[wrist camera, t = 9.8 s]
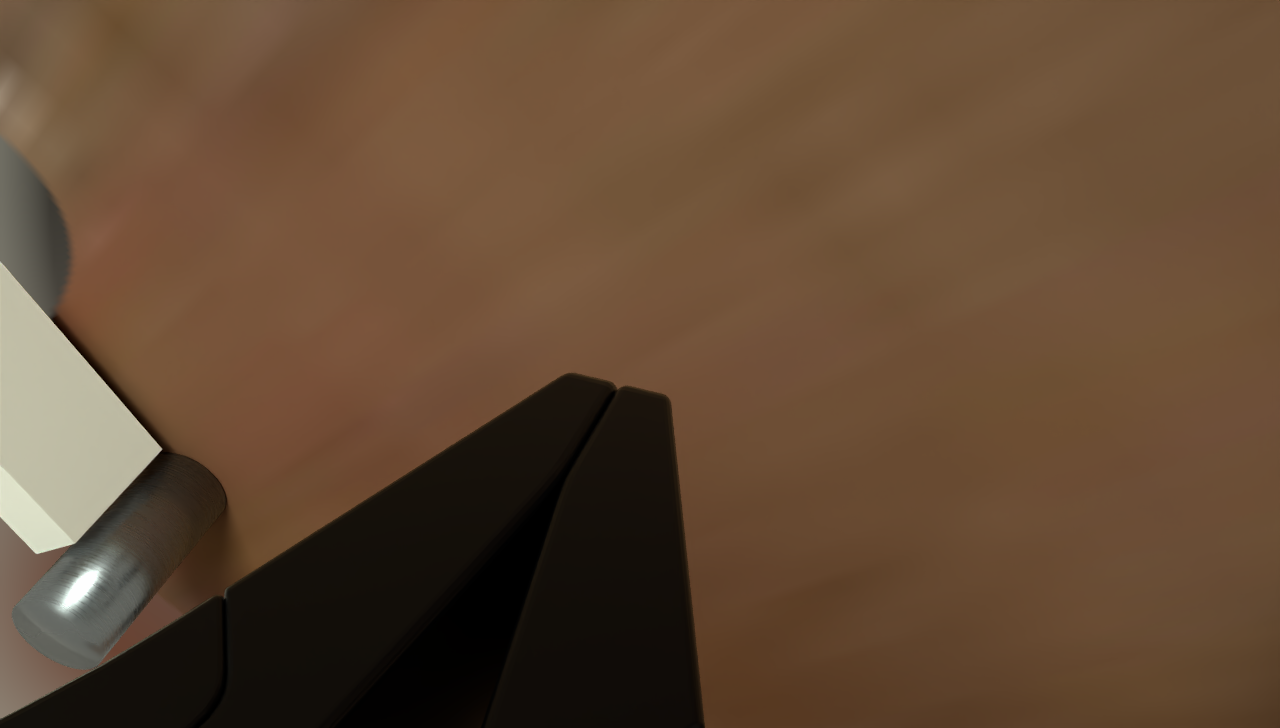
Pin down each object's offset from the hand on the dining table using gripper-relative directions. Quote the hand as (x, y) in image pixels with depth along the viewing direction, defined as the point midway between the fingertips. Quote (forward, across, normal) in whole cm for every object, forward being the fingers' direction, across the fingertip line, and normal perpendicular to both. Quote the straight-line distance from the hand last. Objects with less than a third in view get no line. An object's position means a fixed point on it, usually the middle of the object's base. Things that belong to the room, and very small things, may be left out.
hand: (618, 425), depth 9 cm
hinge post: (+12, +15, +17) cm, 26 cm away
